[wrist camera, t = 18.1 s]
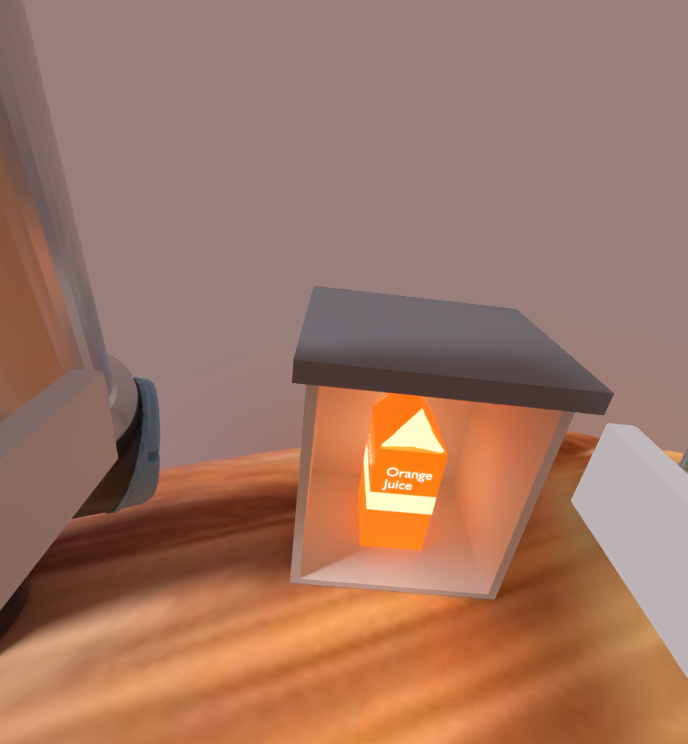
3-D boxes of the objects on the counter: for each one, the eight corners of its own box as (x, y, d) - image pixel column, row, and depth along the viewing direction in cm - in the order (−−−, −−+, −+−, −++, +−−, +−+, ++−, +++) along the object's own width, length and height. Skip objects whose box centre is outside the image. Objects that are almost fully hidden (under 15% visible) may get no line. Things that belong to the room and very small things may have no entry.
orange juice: (411, 498, 58) (443, 372, 49) (422, 551, 50) (461, 412, 42) (356, 493, 58) (378, 365, 49) (358, 545, 50) (384, 404, 41)
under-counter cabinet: (278, 599, 44) (293, 359, 31) (298, 468, 63) (313, 286, 50) (509, 617, 45) (614, 393, 32) (461, 483, 64) (516, 309, 51)
